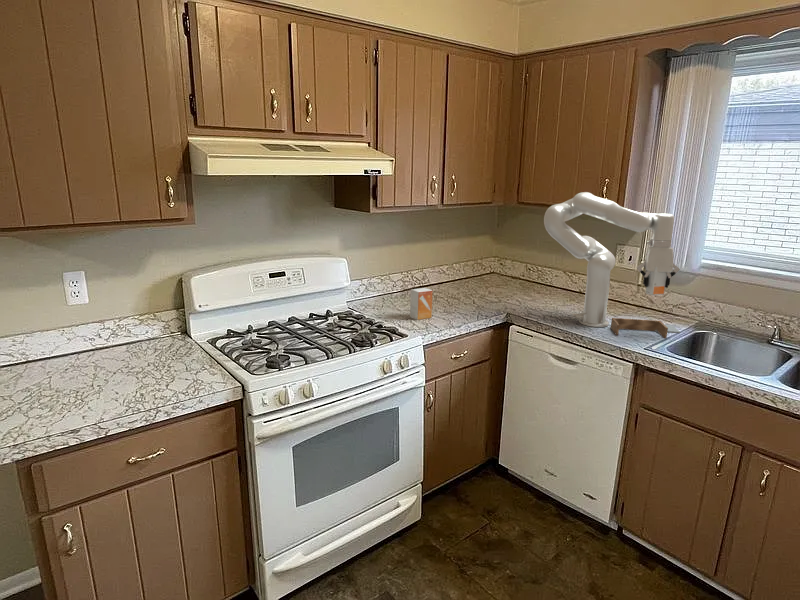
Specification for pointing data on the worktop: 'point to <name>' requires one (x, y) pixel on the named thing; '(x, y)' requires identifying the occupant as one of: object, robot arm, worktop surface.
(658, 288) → the skincare box
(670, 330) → the mat
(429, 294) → the small box
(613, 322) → the brown u-shaped bracket
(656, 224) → the robot arm
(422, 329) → the worktop surface
